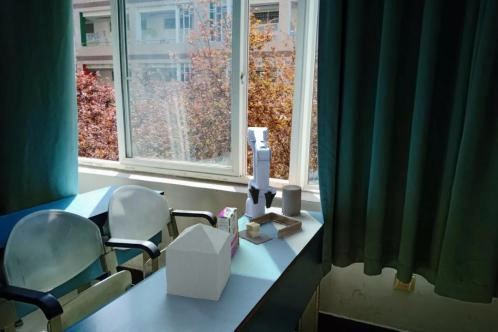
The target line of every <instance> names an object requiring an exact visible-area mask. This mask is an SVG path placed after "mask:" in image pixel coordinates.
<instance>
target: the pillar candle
mask: <svg viewBox="0 0 498 332" xmlns="http://www.w3.org/2000/svg"><path fill="white" fill-rule="evenodd" d="M281 188H282V189H281V214H282V213H283V214H282V215H284V214H285V215H284V216H286V215H290V216H289V217H298V216H300V215H301V214H302V213H301V210H302V186H300V185H297V184H296V185H295V184H286V185H283V186H281ZM292 215H293V216H292ZM295 215H296V216H295ZM297 215H298V216H297Z"/></svg>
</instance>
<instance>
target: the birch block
mask: <svg viewBox="0 0 498 332" xmlns="http://www.w3.org/2000/svg"><path fill="white" fill-rule="evenodd" d="M245 226H246V228H245V229H246V236H249V237H251V238H255V237H257V236H260V233H261V224H258V223H255V222H251V223H250V222H247V223H246V225H245Z"/></svg>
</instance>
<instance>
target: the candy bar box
mask: <svg viewBox="0 0 498 332" xmlns="http://www.w3.org/2000/svg"><path fill="white" fill-rule="evenodd" d="M237 218H238V208H237V207H229V206H226V207H224V208H223V210H222V211H221V212H220V214H219V216H218V217H216V228H217V229H220V230H223V231H226V232H228V233H230V234H231V259H232V258H233V256H234V254H235V252H236V250H237V249H238V245H237Z"/></svg>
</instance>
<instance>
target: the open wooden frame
mask: <svg viewBox="0 0 498 332" xmlns="http://www.w3.org/2000/svg"><path fill="white" fill-rule="evenodd" d="M269 220H270V221H273V220H274V222H276V221H277V223H279V222H280V224H282V223H283V225H286V226H285V227H283V228H279V229H278V231H277V238H278V239H282V238H285V237H287V236H289V235H291V234H293V233H296V232H299V231H302V230H303V229H302V228H303V222H302V221H301V220H297V219H294V218H291V217H290V216H286V215H284V214H279V213H276V212H274V211H271V212H267V213H265V214H264V215H261V216H258V217H255V218H249V223H251V222H255V223H258V224H260V225H261V224H264V223H267V222H269ZM266 221H267V222H266Z"/></svg>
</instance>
